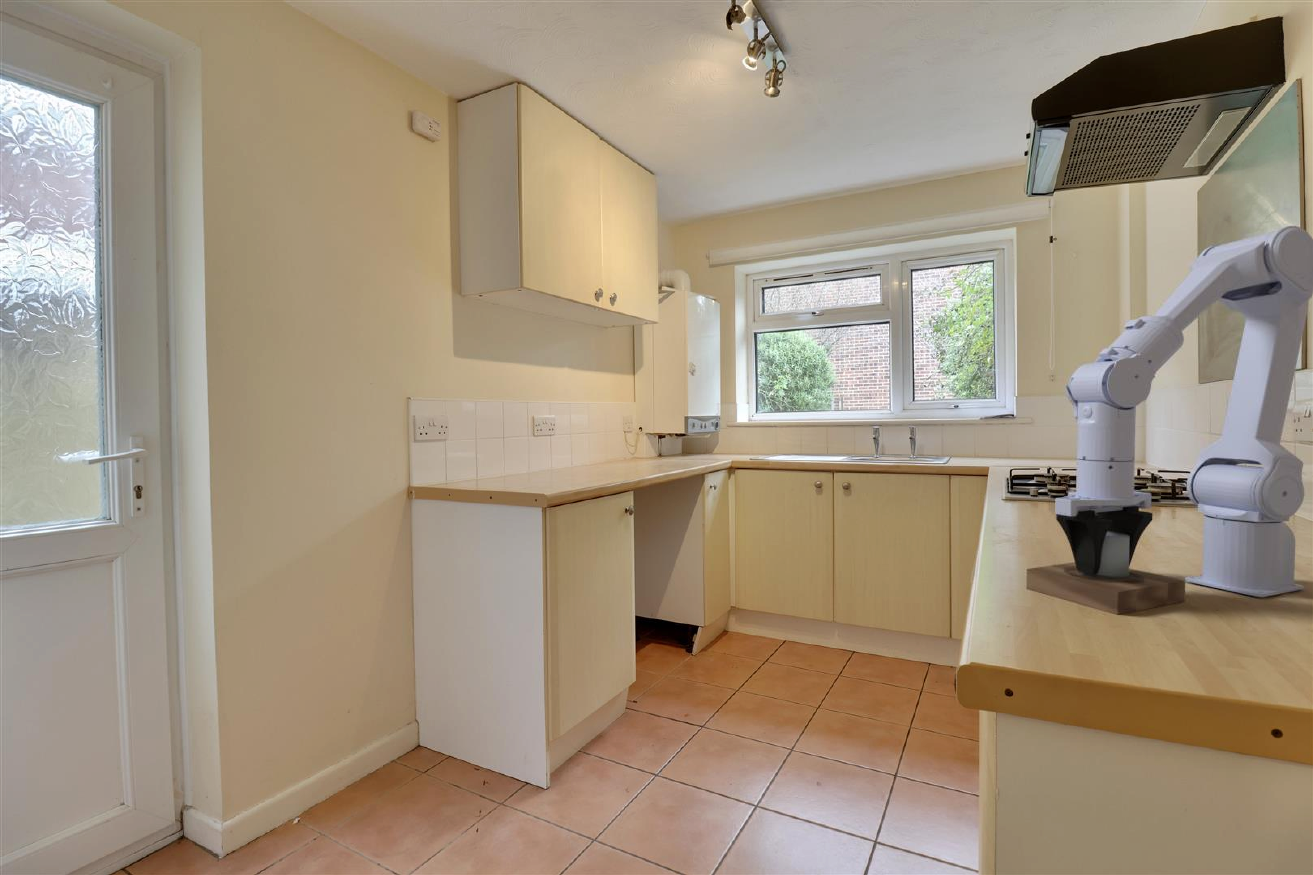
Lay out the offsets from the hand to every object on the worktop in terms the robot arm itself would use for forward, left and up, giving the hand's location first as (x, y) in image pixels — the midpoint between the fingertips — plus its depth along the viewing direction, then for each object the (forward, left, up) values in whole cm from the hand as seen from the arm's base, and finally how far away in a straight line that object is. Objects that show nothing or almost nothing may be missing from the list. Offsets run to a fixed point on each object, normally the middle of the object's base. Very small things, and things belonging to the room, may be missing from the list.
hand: (1102, 570), depth 76 cm
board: (0, 0, -3) cm, 3 cm away
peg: (0, 0, -3) cm, 3 cm away
